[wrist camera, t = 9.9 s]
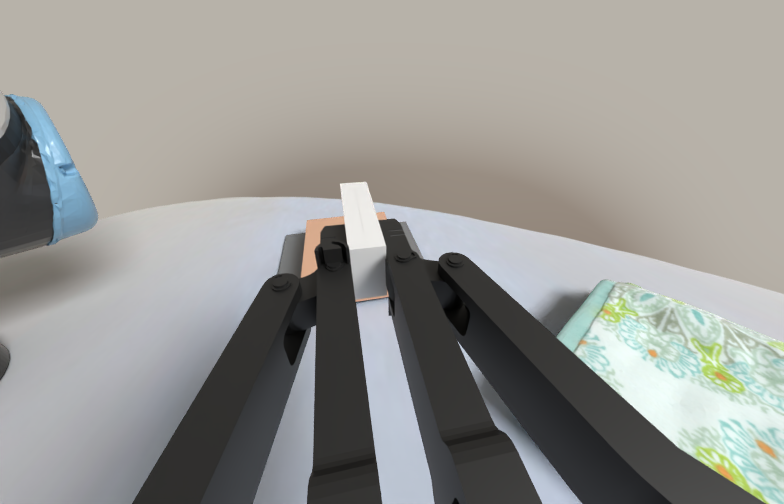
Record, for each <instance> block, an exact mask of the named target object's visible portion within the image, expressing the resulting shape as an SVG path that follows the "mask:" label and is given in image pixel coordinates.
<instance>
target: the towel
mask: <svg viewBox="0 0 784 504" xmlns="http://www.w3.org/2000/svg"><path fill="white" fill-rule="evenodd" d="M556 338H557V339H559V340H560V341H561V342H562V343H563V344H564V345H565V346H566V347H567V348H569V349H570V350H571V351H572V352H573V353H574V354H575V355H576V356H577V357H578V358H580V359H581V360H582V361H583V362H584V363H585V364H586V365H587V366H588V367H590V368H591V369H592V370H593V371H594V372H595V373H596V374H597V375H598V376H600V377H601V378H602V379H603V380H604V381H605V382H606V383H607V384H608V385H609V386H611V387H612V388H613V389H614V390H615V391H616V392H617V393H618V394H619V395H621V396H622V397H623V398H624V399H625V400H626V401H627V402H628V403H629V404H630V405H632V406H633V407H634V408H635V409H636V410H637V411H638V412H639V413H640V414H642V415H643V416H644V417H645V418H646V419H647V420H648V421H649V422H650V423H652V424H653V425H654V426H655V427H656V428H657V429H658V430H659V431H660V432H661V433H663V434H664V435H665V436H666V437H667V438H668V439H669V440H670V441H671V442H673V443H674V444H675V445H676V446H677V447H678V448H680V449H681V450H683V451H684V452H686V453H687V454H689V455H691V456H692V457H694V458H695V459H697V460H698V461H700V462H702V463H703V464H705V465H706V466H708V467H709V468H711V469H713V470H714V471H716V472H717V473H719V474H720V475H722V476H724V477H725V478H727V479H728V480H730V481H731V482H733V483H734V484H736V485H738V486H739V487H741V488H742V489H744V490H745V491H747V492H749V493H750V494H752V495H753V496H755V497H756V498H758V499H760V500H761V501H763V502H764V503H766V504H784V343H783V342H780V341H778V340H776V339H773V338H771V337H768V336H765V335H763V334H760V333H758V332H755V331H753V330H751V329H748V328H745V327H743V326H740V325H738V324H736V323H733V322H731V321H729V320H726V319H724V318H722V317H719V316H717V315H714V314H712V313H709V312H707V311H704V310H702V309H699V308H697V307H694V306H691V305H688V304H686V303H683V302H680V301H678V300H675V299H672V298H669V297H666V296H663V295H660V294H657V293H654V292H651V291H647V290H644V289H642V288H641V287H639V286H637V285H634V284H632V283H621V282H614V281H612V280H602V281H600V283H598V284H597V286H596V287H595V288H594V289H593V291H592V292H591V293H590V295H589V296H588V298H587V299H586V300H585V301H584V303H583V304H582V305H581V307H580V308H579V309H578V310H577V311H576V312H575V313H574V315H573V316H572V317H571V318H570V319H569V320H568V322H567V323H566V324H565V325H564V327H563V328H562V330H561V331H560V332H559V334H558V335H557V336H556Z"/></svg>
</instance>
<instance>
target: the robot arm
mask: <svg viewBox="0 0 784 504" xmlns="http://www.w3.org/2000/svg"><path fill="white" fill-rule="evenodd" d="M340 187H341V196H342V204H343V213H344V222H345V224H341V225H331V226H324V228H323V229H322V231H321V232H320V244H319V245H318V246H316V248H315V250H314V253H315V258H316V263H317V270H316V271H314V272H313V273H311V274H310V275H307V276H305V277H302V278H299V279H298V277H297V276H296V275H294V274H290V273H282V274H278V275H275V276H273V277H271V278H269V279H268V280H267V281H266V282H265V283H264V284H263V286H262V288H261V289H260V291H259V293H258V294H257V296H256V298H255V299H254V301H253V303H252V304H251V306H250V308H249V309H248V311H247V313H246V314H245V316H244V318H243V319H242V321H241V323H240V324H239V326H238V328H237V329H236V331H235V333H234V334H233V336H232V338H231V339H230V341H229V343H228V344H227V346H226V348H225V349H224V351H223V353H222V354H221V356H220V358H219V359H218V361H217V363H216V364H215V366H214V368H213V369H212V371H211V373H210V374H209V376H208V378H207V379H206V381H205V383H204V384H203V386H202V388H201V389H200V391H199V393H198V394H197V396H196V398H195V400H194V401H193V403H192V405H191V406H190V408H189V410H188V411H187V413H186V415H185V416H184V418H183V420H182V421H181V423H180V425H179V426H178V428H177V430H176V431H175V433H174V435H173V436H172V438H171V440H170V441H169V443H168V445H167V446H166V448H165V450H164V451H163V453H162V455H161V456H160V458H159V460H158V461H157V463H156V465H155V466H154V468H153V470H152V471H151V473H150V475H149V476H148V478H147V480H146V481H145V483H144V485H143V486H142V488H141V490H140V491H139V493H138V495H137V496H136V498H135V500H134V501H133V503H132V504H253V501H254V498H255V495H256V492H257V489H258V486H259V483H260V480H261V477H262V474H263V471H264V468H265V465H266V462H267V459H268V456H269V453H270V450H271V447H272V444H273V441H274V438H275V435H276V432H277V430H278V427H279V424H280V421H281V418H282V415H283V412H284V409H285V406H286V403H287V400H288V397H289V394H290V391H291V388H292V385H293V382H294V379H295V376H296V373H297V370H298V367H299V364H300V361H301V358H302V356H303V353H304V350H305V347H306V344H307V341H308V338H309V335H310V332H311V327H313V326H315V325H316V358H315V404H314V449H313V469H312V473H311V476H310V478H309V484H308V495H307V504H382V499H381V491H380V483H379V476H378V469H377V462H376V455H375V448H374V440H373V432H372V425H371V417H370V409H369V401H368V394H367V386H366V378H365V370H364V362H363V355H362V347H361V339H360V331H359V324H358V316H357V308H356V300H357V299H364V298H371V297H378V296H385V295H387V291H388V295H389V316H392V320H393V324H394V328H395V332H396V336H397V340H398V344H399V348H400V352H401V356H402V360H403V364H404V369H405V373H406V377H407V381H408V385H409V389H410V393H411V397H412V401H413V405H414V409H415V413H416V417H417V421H418V425H419V430H420V434H421V438H422V442H423V446H424V450H425V454H426V458H427V462H428V466H429V470H430V475H431V479H432V487H433V496H434V502H435V504H542V502H541V500H540V498H539V496H538V494H537V492H536V489H535V487H534V485H533V483H532V481H531V479H530V477H529V475H528V472H527V470H526V468H525V466H524V464H523V462H522V460H521V458H520V456H519V453H518V451H517V449H516V448H515V446H514V444H513V442H512V440H511V439H510V438H509V437H508V436H507V434H506V433H504V432H502V431H500V430H498V428H497V427H496V426H495V424H494V422H493V420H492V418H491V416H490V414H489V411H488V409H487V407H486V405H485V402H484V400H483V398H482V396H481V393H480V391H479V389H478V387H477V384H476V382H475V380H474V378H473V376H472V373H471V371H470V369H469V367H468V364H467V362H466V360H465V358H464V355H463V353H462V351H461V349H460V346H459V344H458V342H459V343H460V345H461V346H462V347H463V349H464V350H465V351H466V353H467V354H468V355H469V356H470V358H471V359H472V360H473V362H474V363H475V364H476V366H477V367H478V368H479V370H480V371H481V372H482V374H483V375H484V376H485V377H486V379H487V380H488V381H489V383H490V384H491V385H492V387H493V388H494V389H495V391H496V392H497V393H498V394H499V396H500V397H501V398H502V400H503V401H504V402H505V404H506V405H507V406H508V408H509V409H510V410H511V412H512V413H513V414H514V415H515V417H516V418H517V419H518V421H519V422H520V423H521V425H522V426H523V427H524V429H525V430H526V431H527V433H528V434H529V435H530V436H531V438H532V439H533V440H534V442H535V443H536V444H537V446H538V447H539V448H540V450H541V451H542V452H543V454H544V455H545V456H546V457H547V459H548V460H549V461H550V463H551V464H552V465H553V467H554V468H555V469H556V471H557V472H558V473H559V474H560V476H561V477H562V478H563V480H564V481H565V482H566V484H567V485H568V486H569V488H570V489H571V490H572V491H573V493H574V494H575V495H576V496H577V497H578V499H579V500H580V501H581V502H582V504H766V503H764V502H763V501H761V500H760V499H758V498H756V497H755V496H753V495H752V494H750V493H749V492H747V491H745V490H744V489H742V488H741V487H739V486H738V485H736V484H734V483H733V482H731V481H730V480H728V479H727V478H725V477H724V476H722V475H720V474H719V473H717V472H716V471H714V470H713V469H711V468H709V467H708V466H706V465H705V464H703V463H702V462H700V461H698V460H697V459H695V458H694V457H692V456H691V455H689V454H687V453H686V452H684V451H683V450H681V449H680V448H678V447H677V446H676V445H675V444H674V443H673V442H671V441H670V440H669V439H668V438H667V437H666V436H665V435H664V434H663V433H661V432H660V431H659V430H658V429H657V428H656V427H655V426H654V425H653V424H652V423H650V422H649V421H648V420H647V419H646V418H645V417H644V416H643V415H642V414H640V413H639V412H638V411H637V410H636V409H635V408H634V407H633V406H632V405H630V404H629V403H628V402H627V401H626V400H625V399H624V398H623V397H622V396H621V395H619V394H618V393H617V392H616V391H615V390H614V389H613V388H612V387H611V386H609V385H608V384H607V383H606V382H605V381H604V380H603V379H602V378H601V377H600V376H598V375H597V374H596V373H595V372H594V371H593V370H592V369H591V368H590V367H588V366H587V365H586V364H585V363H584V362H583V361H582V360H581V359H580V358H578V357H577V356H576V355H575V354H574V353H573V352H572V351H571V350H570V349H569V348H567V347H566V346H565V345H564V344H563V343H562V342H561V341H560V340H559V339H557V338H556V337H555V336H554V335H553V334H552V333H551V332H550V331H549V330H547V329H546V328H545V327H544V326H543V325H542V324H541V323H540V322H539V321H538V320H536V319H535V318H534V317H533V316H532V315H531V314H530V313H529V312H528V311H526V310H525V309H524V308H523V307H522V306H521V305H520V304H519V303H518V302H517V301H515V300H514V299H513V298H512V297H511V296H510V295H509V294H508V293H507V292H505V291H504V290H503V289H502V288H501V287H500V286H499V285H498V284H497V283H495V282H494V281H493V280H492V279H491V278H490V277H489V276H488V275H487V274H486V273H484V272H483V271H482V270H481V269H480V268H479V267H478V266H477V265H476V264H474V263H473V262H472V261H471V260H470V259H469V258H468V257H466V256H465V255H462V254H459V253H453V252H451V253H445V254H443V255H441V257H440V258H439V261H431V260H425V259H422V258H420V256H419V255H418V254H417V252H415V251H413V250H412V249H411V247H410V245H409V242H408V240H407V238H406V235H405V233H404V231H403V228H402V226H401V224H400V223H399V222H398V221H397V220H395V219H385V220H378V218H377V215H376V211H375V208H374V205H373V202H372V199H371V196H370V192H369V189H368V186H367V183H366V182H357V183H345V184H340ZM97 220H98V213H97V210H96V207H95V205H94V202H93V200H92V198H91V196H90V194H89V192H88V190H87V187H86V185H85V183H84V182H83V180H82V178H81V176H80V174H79V172H78V171H77V170H76V168H75V164H74V162H73V161H72V159H71V157H70V154H69V152H68V150H67V148H66V146H65V145H64V143H63V141H62V139H61V137H60V135H59V133H58V132H57V130H56V128H55V126H54V124H53V122H52V121H51V119H50V117H49V116H48V114H47V112H46V111H45V109H44V108H43V106H42V105H41V104H40V103H39V102H38V101H36V100H35V99H32V98H29V97H19V96H16V95H13V94H10V95H3V93H2V92H1V91H0V258H2V257H6V256H9V255H13V254H17V253H20V252H24V251H27V250H31V249H35V248H38V247H42V246H45V245H48V246H49V245H53V244H55V243H57V242H58V241H59V240H61V239H64V238H67V237H70V236H73V235H76V234H79V233H82V232H85V231H88V230H90V229H91V228H92V227H94V226H95V224H96V223H97ZM456 339H457V340H456ZM457 341H458V342H457ZM9 358H10V356H9V352H8V350H7V349H6V348H5V347H4V346H3V345H2V344H0V379H1V377H2V376H3V374H4V373H5V371H6V369H7V366H8V364H9Z"/></svg>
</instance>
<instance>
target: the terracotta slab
mask: <svg viewBox="0 0 784 504" xmlns="http://www.w3.org/2000/svg"><path fill="white" fill-rule="evenodd" d="M376 215H377V218H378V220H385V219H387V218H386V216H385V213H384V212H379V213H376ZM341 224H345V222H344V216H342V217H333V218H323V219H314V220H307V225H306V234H305V243H304V253H303V262H302V272H301V278H302V277H305V276H307V275H310V274H311V273H313V272H314V271H316V270H317V263H316V258H315V253H314V250H315V248H316V246H318V245H319V244H320V232H321V231H322V229H323V228H324V226H331V225H341ZM384 297H389V295H388V291H387V295H385V296H378V297H371V298H364V299H357V300H356V302H358V301H364V300H371V299H378V298H384Z"/></svg>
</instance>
